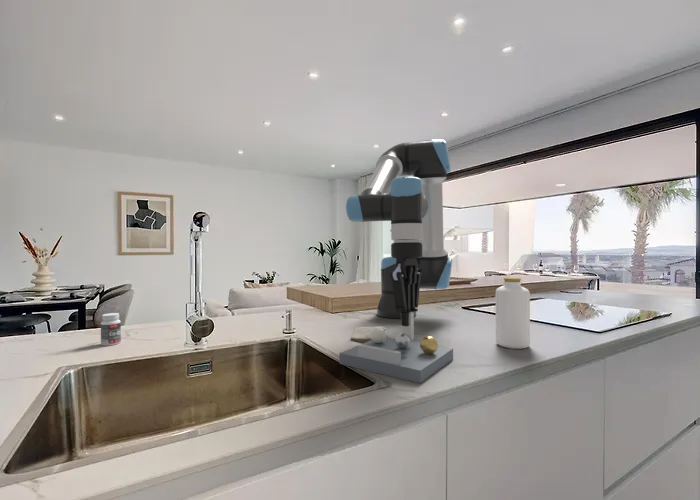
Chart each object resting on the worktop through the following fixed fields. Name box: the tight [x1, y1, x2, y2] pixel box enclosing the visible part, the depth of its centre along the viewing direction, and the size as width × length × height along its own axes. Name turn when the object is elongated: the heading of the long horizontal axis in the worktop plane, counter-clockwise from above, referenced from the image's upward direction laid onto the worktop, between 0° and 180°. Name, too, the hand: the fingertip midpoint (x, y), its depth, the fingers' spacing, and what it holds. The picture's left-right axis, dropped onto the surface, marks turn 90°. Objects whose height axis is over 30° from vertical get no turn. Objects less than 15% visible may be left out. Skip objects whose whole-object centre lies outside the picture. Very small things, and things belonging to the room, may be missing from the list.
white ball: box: [370, 326, 387, 344], centre depth 89 cm, size 4×4×4 cm
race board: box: [339, 337, 454, 384], centre depth 83 cm, size 18×20×5 cm
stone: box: [350, 325, 389, 343], centre depth 104 cm, size 15×11×3 cm
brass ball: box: [419, 335, 439, 354], centre depth 80 cm, size 4×4×4 cm
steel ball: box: [394, 332, 411, 349], centre depth 85 cm, size 4×4×4 cm
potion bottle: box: [495, 277, 531, 350], centre depth 95 cm, size 8×8×18 cm
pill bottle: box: [100, 312, 122, 347], centre depth 100 cm, size 5×5×8 cm
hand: (407, 338), depth 87 cm, fingers closed
